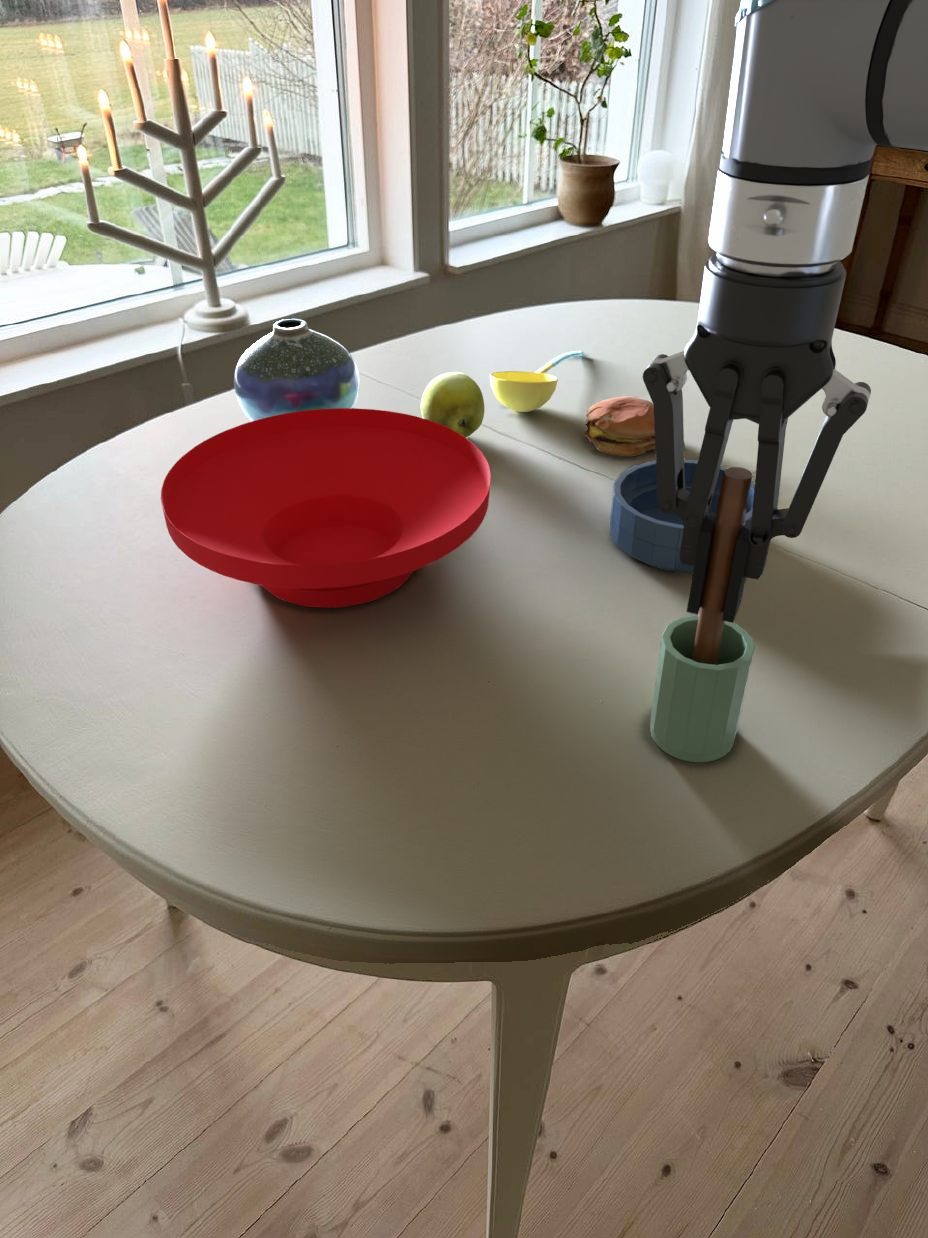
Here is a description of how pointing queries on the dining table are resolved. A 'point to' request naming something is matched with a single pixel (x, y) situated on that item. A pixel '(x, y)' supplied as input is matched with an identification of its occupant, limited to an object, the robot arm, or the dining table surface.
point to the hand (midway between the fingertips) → (714, 606)
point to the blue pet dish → (654, 516)
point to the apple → (454, 403)
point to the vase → (295, 373)
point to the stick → (721, 562)
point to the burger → (621, 426)
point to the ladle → (527, 386)
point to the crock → (699, 692)
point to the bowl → (326, 502)
